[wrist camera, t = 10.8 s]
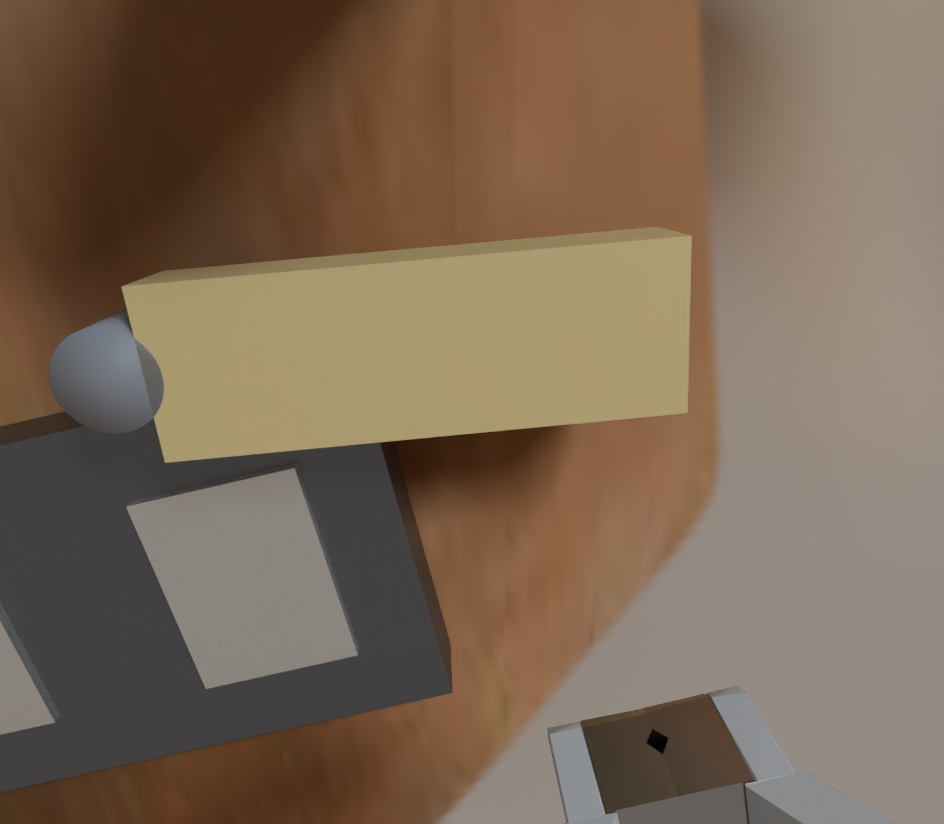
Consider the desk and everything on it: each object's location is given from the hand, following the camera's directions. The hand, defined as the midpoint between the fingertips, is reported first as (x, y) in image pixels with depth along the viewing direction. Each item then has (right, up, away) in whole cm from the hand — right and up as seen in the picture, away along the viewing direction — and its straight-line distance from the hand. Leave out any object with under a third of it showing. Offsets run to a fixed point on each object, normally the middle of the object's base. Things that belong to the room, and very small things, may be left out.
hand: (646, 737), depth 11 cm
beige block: (-6, +7, +11) cm, 15 cm away
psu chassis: (-17, 0, +18) cm, 24 cm away
